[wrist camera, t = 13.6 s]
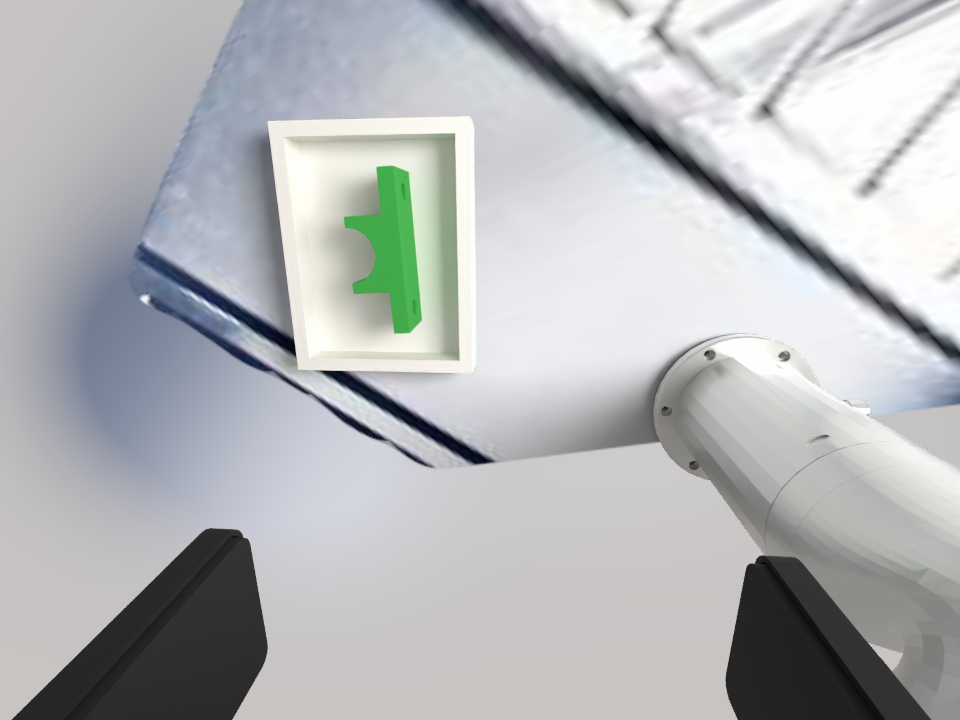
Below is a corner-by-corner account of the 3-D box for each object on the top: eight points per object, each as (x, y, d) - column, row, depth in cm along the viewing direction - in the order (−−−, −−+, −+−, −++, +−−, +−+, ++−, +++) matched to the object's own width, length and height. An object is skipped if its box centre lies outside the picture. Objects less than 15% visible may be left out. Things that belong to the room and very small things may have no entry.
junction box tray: (474, 124, 34) (469, 116, 31) (476, 362, 39) (472, 373, 36) (288, 128, 35) (267, 121, 32) (314, 359, 40) (298, 369, 38)
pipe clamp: (359, 175, 35) (336, 168, 31) (409, 171, 35) (393, 164, 30) (376, 322, 38) (358, 335, 34) (422, 320, 38) (409, 333, 33)
